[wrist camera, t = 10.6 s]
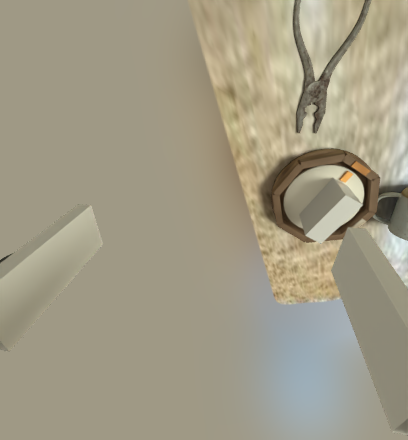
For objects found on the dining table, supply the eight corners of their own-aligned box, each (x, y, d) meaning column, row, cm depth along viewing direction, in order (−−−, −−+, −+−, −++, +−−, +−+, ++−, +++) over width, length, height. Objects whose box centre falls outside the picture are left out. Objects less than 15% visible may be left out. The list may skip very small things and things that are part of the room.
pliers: (378, -49, 28) (361, 125, 38) (375, -46, 29) (359, 124, 39) (292, -19, 31) (297, 136, 40) (291, -17, 31) (296, 135, 41)
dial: (324, 238, 49) (335, 265, 42) (269, 208, 48) (271, 230, 41) (380, 187, 41) (404, 209, 35) (316, 149, 40) (328, 165, 33)
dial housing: (265, 160, 44) (266, 167, 41) (376, 137, 39) (387, 143, 36) (276, 237, 53) (278, 247, 50) (369, 227, 47) (377, 238, 44)
